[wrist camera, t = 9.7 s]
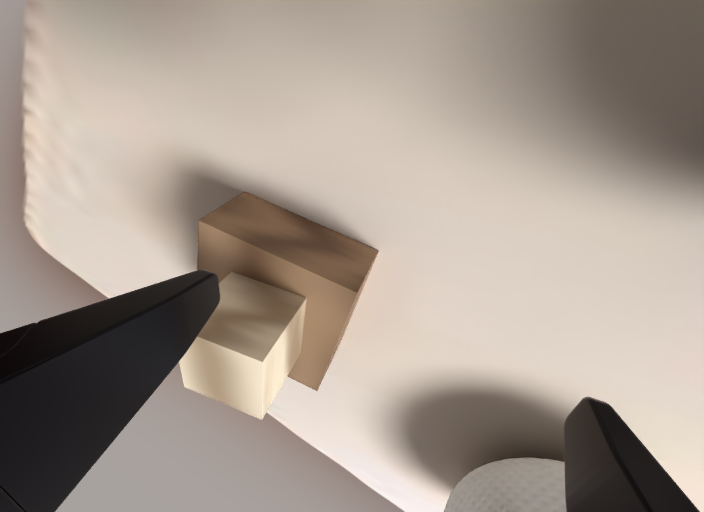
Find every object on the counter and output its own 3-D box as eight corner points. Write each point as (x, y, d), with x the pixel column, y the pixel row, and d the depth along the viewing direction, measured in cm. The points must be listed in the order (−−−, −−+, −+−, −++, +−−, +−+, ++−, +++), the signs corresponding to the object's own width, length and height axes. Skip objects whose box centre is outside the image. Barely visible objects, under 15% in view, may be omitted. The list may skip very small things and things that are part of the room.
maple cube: (306, 297, 20) (262, 362, 16) (300, 353, 23) (261, 419, 19) (231, 271, 21) (171, 326, 17) (234, 328, 24) (184, 386, 20)
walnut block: (379, 248, 23) (357, 293, 19) (340, 341, 29) (317, 390, 25) (247, 190, 24) (198, 220, 20) (235, 291, 30) (196, 331, 26)
